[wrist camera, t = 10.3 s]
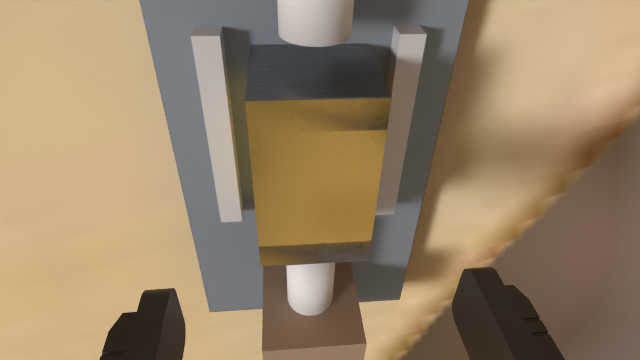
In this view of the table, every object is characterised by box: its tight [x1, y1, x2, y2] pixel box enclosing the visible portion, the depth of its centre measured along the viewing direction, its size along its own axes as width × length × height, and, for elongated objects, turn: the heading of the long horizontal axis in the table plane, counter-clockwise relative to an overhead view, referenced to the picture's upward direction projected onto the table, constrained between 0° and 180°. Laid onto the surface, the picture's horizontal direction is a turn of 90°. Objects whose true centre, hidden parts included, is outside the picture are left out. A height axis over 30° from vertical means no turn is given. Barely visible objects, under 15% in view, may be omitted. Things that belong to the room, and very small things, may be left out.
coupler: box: [245, 43, 392, 267], centre depth 17 cm, size 8×4×4 cm, turn 179°
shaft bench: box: [140, 0, 469, 360], centre depth 17 cm, size 26×12×7 cm, turn 178°
